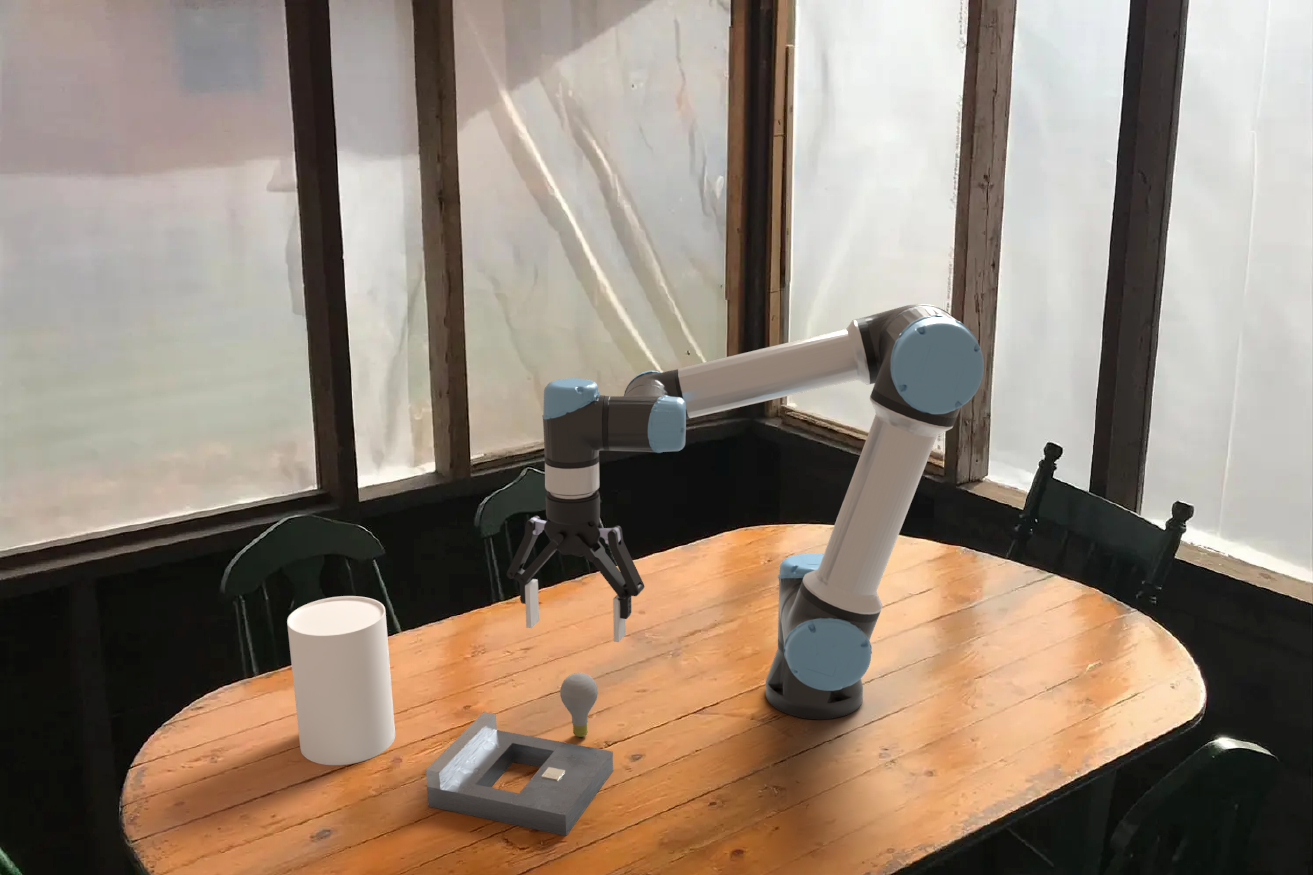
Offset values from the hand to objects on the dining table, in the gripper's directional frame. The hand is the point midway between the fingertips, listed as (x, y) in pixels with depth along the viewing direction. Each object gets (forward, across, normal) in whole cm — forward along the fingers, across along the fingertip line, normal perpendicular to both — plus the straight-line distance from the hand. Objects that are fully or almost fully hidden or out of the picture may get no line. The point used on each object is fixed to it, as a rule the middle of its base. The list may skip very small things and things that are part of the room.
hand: (575, 631), depth 164 cm
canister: (+17, +32, +12) cm, 38 cm away
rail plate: (+17, +2, +15) cm, 23 cm away
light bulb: (+17, 0, 0) cm, 17 cm away
